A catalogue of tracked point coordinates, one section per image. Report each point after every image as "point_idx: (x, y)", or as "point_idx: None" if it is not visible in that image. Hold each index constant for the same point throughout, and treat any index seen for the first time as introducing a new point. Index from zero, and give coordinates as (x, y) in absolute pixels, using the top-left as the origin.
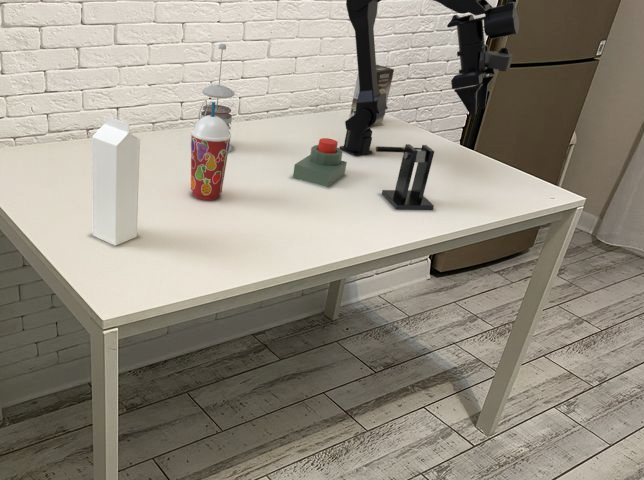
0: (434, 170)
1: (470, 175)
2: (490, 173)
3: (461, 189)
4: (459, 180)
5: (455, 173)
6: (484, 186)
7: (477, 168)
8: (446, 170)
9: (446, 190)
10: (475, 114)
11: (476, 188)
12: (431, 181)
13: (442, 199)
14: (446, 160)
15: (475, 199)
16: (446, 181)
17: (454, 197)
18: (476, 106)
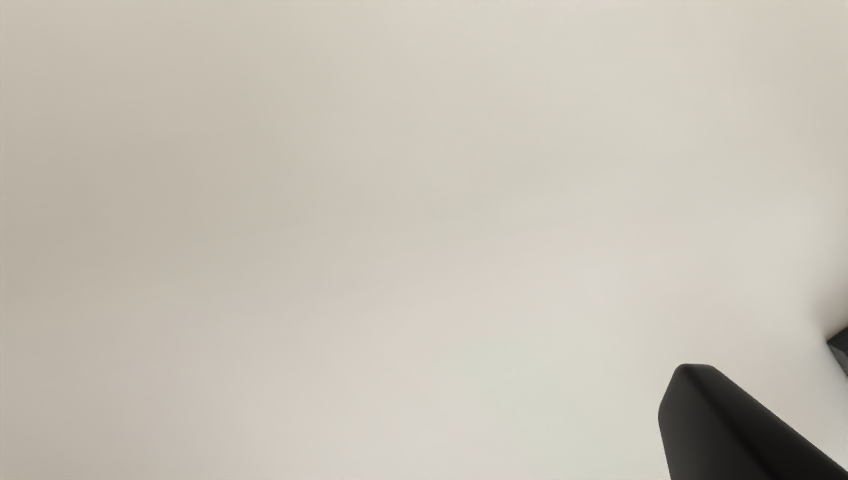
0: (308, 362)
1: (221, 138)
2: (49, 13)
3: (555, 139)
4: (387, 184)
5: (260, 235)
6: (385, 9)
7: (12, 121)
8: (245, 299)
9: (635, 216)
10: (714, 370)
11: (467, 53)
12: (534, 329)
13: (803, 204)
14: (21, 346)
15: (683, 24)
16: (468, 252)
17: (728, 149)
18: (779, 468)
